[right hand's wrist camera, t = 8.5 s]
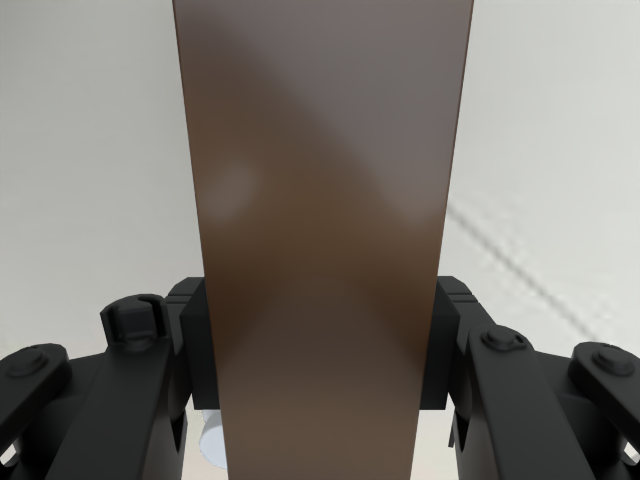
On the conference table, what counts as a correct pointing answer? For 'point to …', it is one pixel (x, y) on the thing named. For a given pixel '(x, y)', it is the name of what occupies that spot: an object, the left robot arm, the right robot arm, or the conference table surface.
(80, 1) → the conference table surface
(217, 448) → the pill bottle
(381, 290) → the bar
